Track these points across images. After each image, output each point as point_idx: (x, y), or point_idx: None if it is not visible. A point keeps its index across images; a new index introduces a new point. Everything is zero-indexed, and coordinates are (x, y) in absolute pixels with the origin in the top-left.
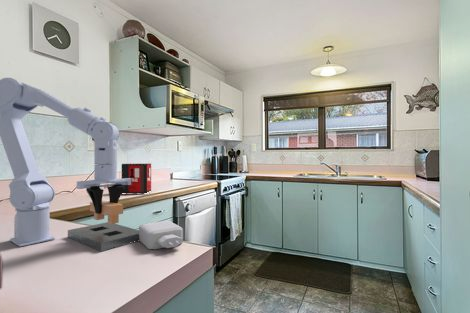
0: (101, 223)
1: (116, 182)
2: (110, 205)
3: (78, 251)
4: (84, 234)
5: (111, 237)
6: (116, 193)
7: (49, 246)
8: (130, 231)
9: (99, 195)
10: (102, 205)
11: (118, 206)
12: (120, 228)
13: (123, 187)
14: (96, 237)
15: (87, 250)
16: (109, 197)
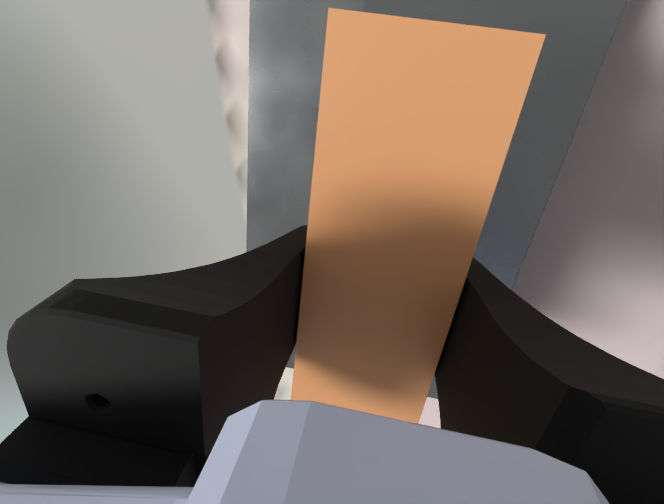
0: (287, 365)
1: (132, 486)
2: (472, 123)
3: (656, 97)
4: (501, 256)
5: (495, 2)
6: (251, 294)
7: (614, 324)
8: (306, 22)
9: (574, 356)
10: (465, 269)
11: (406, 21)
12: (294, 173)
13: (51, 298)
14: (532, 117)
15: (624, 61)
16: (273, 396)
